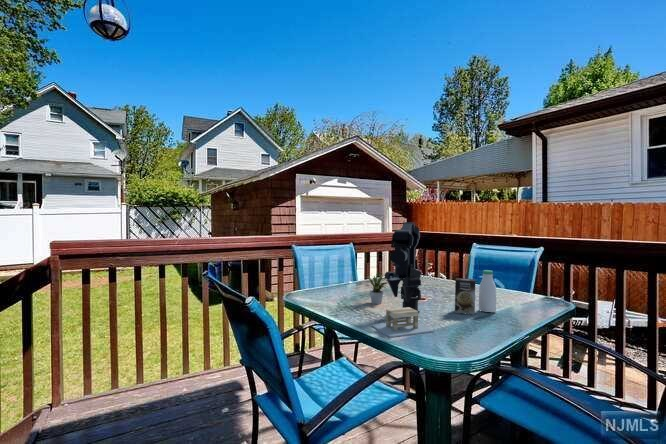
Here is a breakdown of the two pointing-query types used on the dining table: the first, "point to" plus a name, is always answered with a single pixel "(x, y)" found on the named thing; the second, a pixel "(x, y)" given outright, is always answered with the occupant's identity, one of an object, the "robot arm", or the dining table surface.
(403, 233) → the robot arm
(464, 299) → the coffee box
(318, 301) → the dining table surface
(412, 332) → the mat
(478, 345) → the dining table surface
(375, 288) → the house plant
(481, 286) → the milk bottle
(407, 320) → the stool
